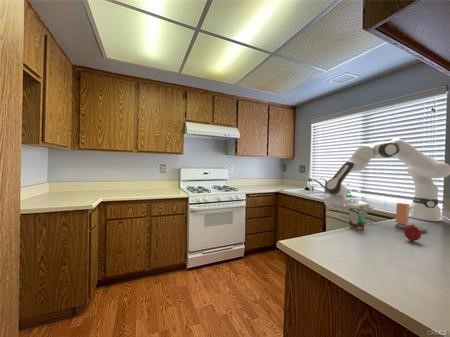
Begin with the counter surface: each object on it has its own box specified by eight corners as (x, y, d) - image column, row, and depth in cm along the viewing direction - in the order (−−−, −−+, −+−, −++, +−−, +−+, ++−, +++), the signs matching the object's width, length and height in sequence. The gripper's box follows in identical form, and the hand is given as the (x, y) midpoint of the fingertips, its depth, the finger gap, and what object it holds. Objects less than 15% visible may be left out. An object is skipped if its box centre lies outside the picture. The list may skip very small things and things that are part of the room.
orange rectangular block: (395, 224, 115) (396, 203, 115) (398, 223, 117) (399, 202, 117) (405, 226, 111) (406, 204, 111) (408, 225, 114) (409, 204, 113)
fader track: (395, 227, 115) (395, 223, 115) (398, 225, 118) (398, 222, 117) (424, 233, 105) (424, 229, 105) (426, 232, 108) (427, 228, 108)
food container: (371, 232, 104) (372, 213, 103) (358, 231, 104) (359, 212, 104) (359, 225, 116) (360, 208, 115) (347, 224, 117) (348, 207, 116)
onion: (424, 244, 89) (425, 226, 89) (409, 242, 90) (410, 225, 90) (414, 239, 95) (415, 222, 95) (400, 238, 96) (401, 221, 96)
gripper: (341, 201, 131) (365, 205, 120) (355, 199, 143) (378, 202, 132) (340, 210, 131) (364, 215, 120) (354, 208, 143) (378, 212, 132)
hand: (372, 209), depth 126 cm, fingers closed
